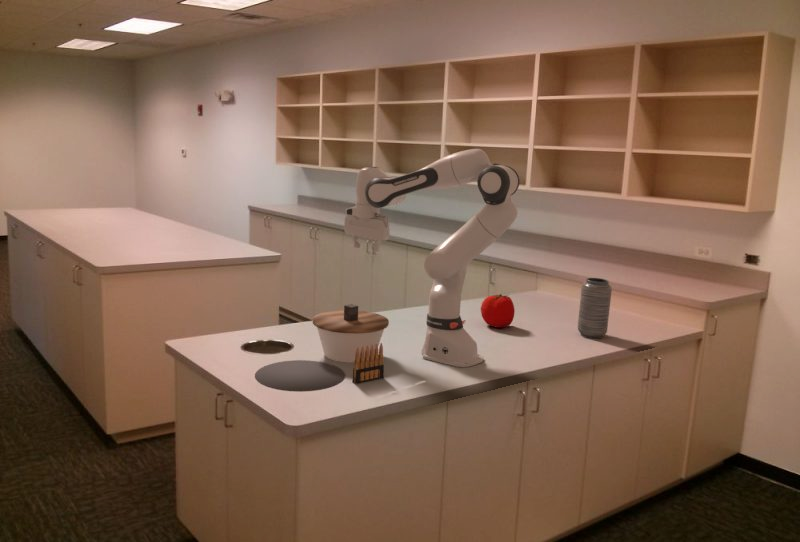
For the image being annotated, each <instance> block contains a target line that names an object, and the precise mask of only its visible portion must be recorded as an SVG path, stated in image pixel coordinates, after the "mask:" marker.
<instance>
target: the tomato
mask: <svg viewBox="0 0 800 542" xmlns="http://www.w3.org/2000/svg"><path fill="white" fill-rule="evenodd" d="M509 295H511V294H505V295H503V294H501V293H499V294H494V295H492V294H491V295H489V296H487V297H484V300H483V301H482V303H481V305H480V315H481V317H482V320H483V322H485V323H486V324H487V325H488V326H490V327H494V328H498V329H499V328H503V329H504V328H507V327H509V326H510V325H511V324H512V323H513V320H514V317H515V312H516V311H515V310H516V309H515V305H514V302H513V300H512V298H511V297H510V296H509Z"/></svg>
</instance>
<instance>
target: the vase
mask: <svg viewBox="0 0 800 542" xmlns="http://www.w3.org/2000/svg"><path fill="white" fill-rule="evenodd" d="M612 291H613V289H612V286H611V285H610V282H609V280H608V279H605V278H599V277H588V278H586V280H585V281H584V282H583V284H582V285H581V292H580V298H579V299H580V300H579V307H578V308H579V311H578V319H577V331H578V332H579V333H580V335H581V336H582V337H584V338H589V339H602V338H603V337H604V336H605V335H606V334H607V332H608V326H609V325H608V324H609V316H610V310H611V300H612Z"/></svg>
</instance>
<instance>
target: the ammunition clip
mask: <svg viewBox="0 0 800 542" xmlns="http://www.w3.org/2000/svg"><path fill="white" fill-rule="evenodd" d="M379 344H380V345H377V344H376V346H375V352H374V348H373V345H371V348H370V356H369V347H368V345H367V347H366V350H365V358H364V348H363V346H362V348H361V352H360V359H359V348H358V347H357V349H356V355H355V362H353V365H354V367H353V369H352V383H354V385H359V384H363V383H367V382H373V381H377V380H382V379H384V378H385V375H384V374H385V366H384V348H383V347H384V346H383V343H382V342H381V343H379Z"/></svg>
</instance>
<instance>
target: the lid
mask: <svg viewBox="0 0 800 542" xmlns="http://www.w3.org/2000/svg"><path fill="white" fill-rule="evenodd" d="M389 323H390V321H389V319H388V318H387V317H386V316H385V315H381V314H379V313H376V312H373V311H364V310H359V305H356V304H353V303H349V304H344V306H343V309H340V310H339V309H338V310H330V311H325V312H323V311H322V312H321V313H318V314H316V315H314V316H313V317H312V325H313V326H314V327H316V328H317V327H318V328H320V329H323V330H327V331H331V332H338V333H353V334H357V333H371V332H376V331H380V330H383V329H384V330H385V329H387V328H388V327H389V325H390V324H389Z"/></svg>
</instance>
